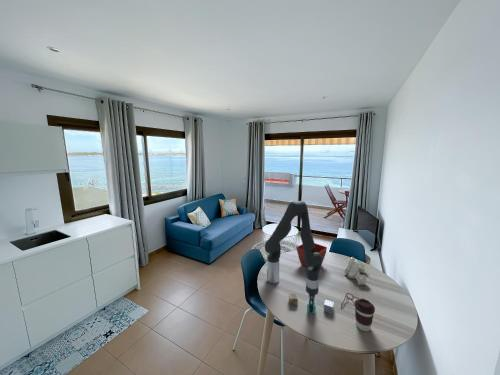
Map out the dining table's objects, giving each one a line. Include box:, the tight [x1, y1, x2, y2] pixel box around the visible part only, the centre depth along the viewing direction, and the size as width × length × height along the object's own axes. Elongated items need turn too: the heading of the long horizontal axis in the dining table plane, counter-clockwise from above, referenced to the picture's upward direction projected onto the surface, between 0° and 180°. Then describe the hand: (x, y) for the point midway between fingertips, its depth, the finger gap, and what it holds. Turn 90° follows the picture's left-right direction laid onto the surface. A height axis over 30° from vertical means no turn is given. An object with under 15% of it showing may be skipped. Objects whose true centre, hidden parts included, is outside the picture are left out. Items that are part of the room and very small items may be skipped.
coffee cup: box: [354, 298, 376, 332], centre depth 114 cm, size 10×10×15 cm
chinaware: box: [343, 256, 369, 286], centre depth 160 cm, size 28×17×17 cm, turn 160°
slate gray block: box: [323, 299, 335, 315], centre depth 128 cm, size 5×5×5 cm
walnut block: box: [288, 292, 299, 307], centre depth 135 cm, size 5×5×5 cm
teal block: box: [306, 298, 317, 314], centre depth 126 cm, size 5×5×5 cm
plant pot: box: [296, 242, 328, 269], centre depth 178 cm, size 19×19×17 cm
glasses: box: [340, 292, 364, 310], centre depth 129 cm, size 13×13×5 cm
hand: (311, 308), depth 126 cm, fingers closed on teal block, 5 cm apart
